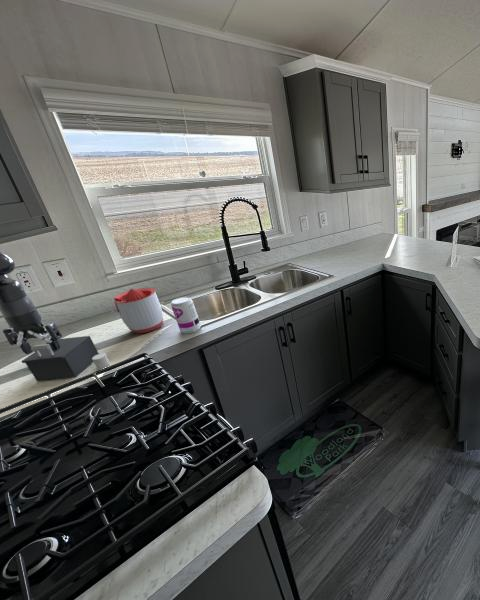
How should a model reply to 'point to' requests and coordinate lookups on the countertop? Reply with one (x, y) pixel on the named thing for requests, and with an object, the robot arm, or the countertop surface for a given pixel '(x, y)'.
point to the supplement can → (185, 315)
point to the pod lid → (48, 354)
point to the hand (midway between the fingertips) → (43, 351)
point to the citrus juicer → (139, 309)
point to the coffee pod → (101, 361)
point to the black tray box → (65, 364)
